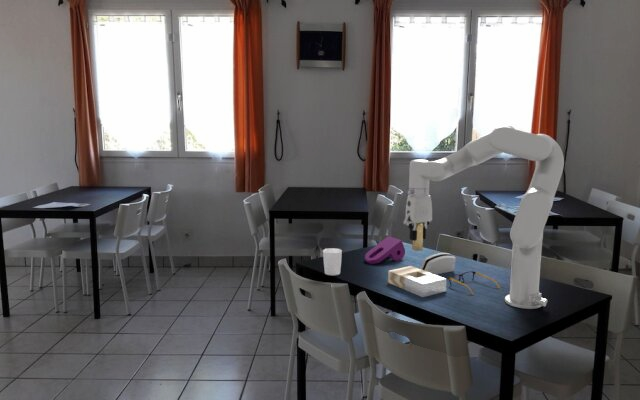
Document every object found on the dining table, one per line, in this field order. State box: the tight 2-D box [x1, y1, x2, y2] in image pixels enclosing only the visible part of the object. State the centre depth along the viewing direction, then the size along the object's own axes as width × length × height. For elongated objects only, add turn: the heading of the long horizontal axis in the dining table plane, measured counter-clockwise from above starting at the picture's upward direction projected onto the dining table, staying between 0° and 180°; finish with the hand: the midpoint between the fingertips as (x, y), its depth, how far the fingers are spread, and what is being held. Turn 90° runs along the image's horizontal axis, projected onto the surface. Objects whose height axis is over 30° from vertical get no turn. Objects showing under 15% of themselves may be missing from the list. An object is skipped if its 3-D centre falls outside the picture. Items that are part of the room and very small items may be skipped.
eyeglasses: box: [448, 271, 501, 296], centre depth 204 cm, size 14×14×4 cm
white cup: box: [322, 247, 343, 276], centre depth 222 cm, size 8×8×10 cm
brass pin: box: [411, 222, 424, 252], centre depth 200 cm, size 4×4×12 cm
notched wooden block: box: [387, 265, 427, 291], centre depth 208 cm, size 10×12×5 cm
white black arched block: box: [419, 252, 457, 275], centre depth 220 cm, size 17×5×10 cm, turn 119°
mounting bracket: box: [364, 235, 406, 265], centre depth 241 cm, size 9×8×18 cm
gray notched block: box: [405, 272, 447, 298], centre depth 200 cm, size 10×12×5 cm
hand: (417, 238), depth 201 cm, fingers closed on brass pin, 4 cm apart
